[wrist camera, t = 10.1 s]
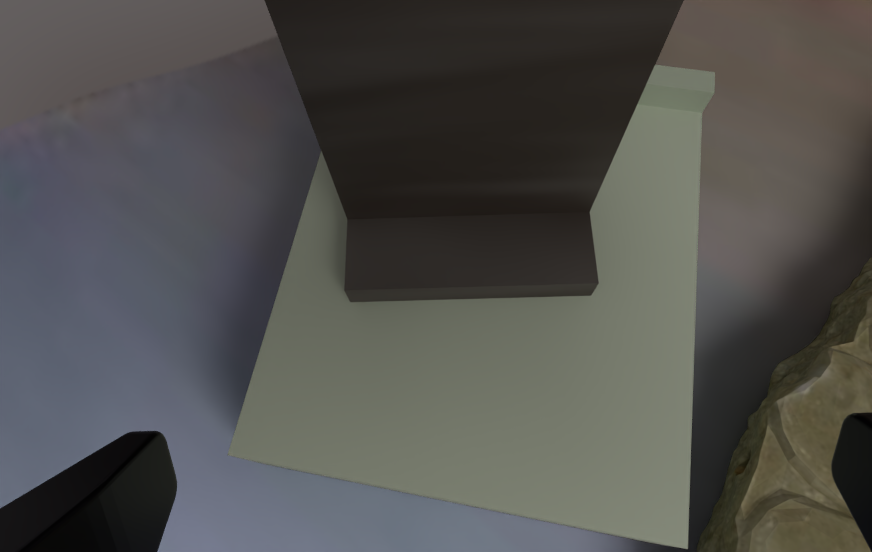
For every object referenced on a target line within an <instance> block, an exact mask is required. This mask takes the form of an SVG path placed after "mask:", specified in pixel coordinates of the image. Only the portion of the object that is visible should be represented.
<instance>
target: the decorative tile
mask: <svg viewBox="0 0 872 552" xmlns="http://www.w3.org/2000/svg"><path fill="white" fill-rule="evenodd" d="M867 412H872V257H871V258H870V259H869V260H868V262H867V263H866V264H865V265H864V266H863V268H862V271H861V273H860V275H859V276H858V277H856V278H855V279H854V280H853V281H852V284H851V286H850V287H849V288H848V289H847V290H845V291H844V292H843V293H842V294H840V295H838V296H836V297H834V299H833V301H832V303H831V308H830V315H829V317H828V319H827V321H826V323H825V325H824V326H823V328H822V330H821V332H820V334H819V335H818V336H817V337H816V338H815V340H814V341H813V342H812V343H811V344H810V345H808V346H807V347H805V348H804V349H802V350H801V351H800V352H799V353H797V354H794V355H792V356H790V357H789V358H787V359H785V360H784V361H782V362H780V363H779V364H778V365H777V367H776V368H775V370H774V371H773V373H772V376H771V379H770V385H769V390H768V394H767V398H765V399H764V400H763V402H762V403H761V405H760V407H759V409H758V410H757V411H756V412H755V413H753V414H751V415H750V416H749V417H748V428H747V430H746V431H745V433H744V434H743V436H742V437H741V439H740V440H739V444H738V447H737V448H736V449H735V450H734V453H733V456H732V459H731V462H730V464H729V467H728V472H727V476H726V481H725V484H724V488H723V492H722V495H721V496H720V499H719V500H718V502H717V503H716V505H715V506H714V508H713V513H712V517H711V519H710V521H709V523H708V525H707V526H706V528H705V529H704V531H703V532H702V534H701V536H700V539H699V542H698V545H697V552H871V550H870V548H869V546H868V545H867V543H866V541H865V539H864V537H863V535H862V533H861V531H860V530H859V528H858V526H857V524H856V522H855V520H854V518H853V516H852V515H851V513H850V511H849V509H848V507H847V505H846V503H845V501H844V500H843V498H842V496H841V494H840V492H839V490H838V488H837V486H836V484H835V482H834V480H833V476H832V471H831V462H832V458H833V455H834V451H835V447H836V444H837V440H838V437H839V433H840V430H841V426H842V423H843V421H844V419H845V418H846V417H847V416H848V415H850V414H852V413H867Z"/></svg>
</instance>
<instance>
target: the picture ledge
mask: <svg viewBox="0 0 872 552" xmlns="http://www.w3.org/2000/svg"><path fill="white" fill-rule="evenodd" d="M714 90H715V72H708V71H700V70H692V69H684V68H676V67H668V66H660V65H655V66H654V68H653V70H652V73H651V75H650V77H649V79H648V82H647V84H646V86H645V88H644V91H643V93H642V95H641V97H640V100H639V102H638V104H637V106H636V109H635V111H634V113H633V115H632V118H631V120H630V122H629V124H628V127H627V129H626V131H625V133H624V136H623V138H622V140H621V142H620V145H619V147H618V149H617V151H616V154H615V156H614V158H613V160H612V163H611V165H610V167H609V170H608V172H607V174H606V176H605V179H604V181H603V183H602V185H601V188H600V190H599V192H598V194H597V197H596V199H595V201H594V203H593V206H592V208H591V210H590V218H591V226H592V234H593V242H594V249H595V257H596V265H597V273H598V281H599V284H598V285H597V287H596V289H595V290H594V292H593V293H592V295H591V296H561V297H525V298H488V299H451V300H415V301H378V302H350V301H349V299H348V297H347V295H346V293H345V291H344V285H345V262H346V239H347V217H346V214H345V212H344V209H343V207H342V204H341V201H340V199H339V196H338V193H337V191H336V188H335V185H334V183H333V180H332V177H331V175H330V172H329V169H328V167H327V164H326V161H325V159H324V156H323V153H322V151H321V153H320V156H319V160H318V163H317V166H316V169H315V173H314V176H313V179H312V182H311V186H310V189H309V192H308V195H307V199H306V202H305V205H304V208H303V212H302V215H301V218H300V221H299V225H298V228H297V231H296V234H295V238H294V241H293V244H292V247H291V251H290V254H289V257H288V260H287V264H286V267H285V270H284V273H283V277H282V280H281V283H280V286H279V290H278V293H277V296H276V299H275V303H274V306H273V309H272V312H271V316H270V319H269V322H268V325H267V329H266V332H265V335H264V338H263V342H262V345H261V348H260V351H259V355H258V358H257V361H256V364H255V368H254V371H253V374H252V377H251V381H250V384H249V387H248V390H247V394H246V397H245V400H244V403H243V407H242V410H241V413H240V416H239V420H238V423H237V426H236V429H235V433H234V436H233V439H232V442H231V446H230V449H229V452H228V455H229V456H233V457H237V458H241V459H246V460H250V461H254V462H258V463H262V464H267V465H272V466H277V467H282V468H287V469H292V470H296V471H301V472H306V473H311V474H316V475H321V476H326V477H331V478H335V479H340V480H345V481H350V482H355V483H360V484H365V485H370V486H375V487H379V488H384V489H389V490H394V491H399V492H404V493H409V494H414V495H419V496H423V497H428V498H433V499H438V500H443V501H448V502H453V503H458V504H463V505H467V506H472V507H477V508H482V509H487V510H492V511H497V512H502V513H507V514H511V515H516V516H521V517H526V518H531V519H536V520H541V521H546V522H551V523H555V524H560V525H565V526H570V527H575V528H580V529H585V530H590V531H595V532H599V533H604V534H609V535H614V536H619V537H624V538H629V539H634V540H639V541H643V542H648V543H654V544H660V545H666V546H672V547H678V548H684V549H688V527H689V497H690V466H691V435H692V405H693V374H694V343H695V313H696V282H697V251H698V221H699V190H700V160H701V129H702V112H703V110H704V109H705V107H706V106H707V104H708V102H709V101H710V99H711V97H712V96H713V94H714Z"/></svg>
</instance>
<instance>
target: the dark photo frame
mask: <svg viewBox="0 0 872 552" xmlns="http://www.w3.org/2000/svg"><path fill="white" fill-rule="evenodd" d="M683 1H684V0H265V2H266V5H267V7H268V10H269V13H270V16H271V18H272V21H273V23H274V26H275V29H276V31H277V34H278V37H279V39H280V42H281V45H282V47H283V50H284V53H285V55H286V58H287V61H288V63H289V66H290V69H291V71H292V74H293V77H294V79H295V82H296V85H297V87H298V90H299V92H300V95H301V98H302V100H303V103H304V106H305V108H306V111H307V114H308V116H309V119H310V122H311V124H312V127H313V130H314V132H315V135H316V138H317V140H318V143H319V146H320V148H321V151H322V153H323V156H324V159H325V161H326V164H327V167H328V169H329V172H330V175H331V177H332V180H333V183H334V185H335V188H336V191H337V193H338V196H339V199H340V201H341V204H342V207H343V209H344V212H345V214H346V217H347V239H346V262H345V285H344V291H345V293H346V295H347V297H348V299H349V301H350V302H378V301H415V300H451V299H488V298H525V297H561V296H591V295H592V293H593V292H594V290H595V289H596V287H597V285H598V284H599V281H598V273H597V265H596V257H595V249H594V242H593V234H592V226H591V218H590V210H591V208H592V206H593V203H594V201H595V199H596V197H597V194H598V192H599V190H600V188H601V185H602V183H603V181H604V179H605V176H606V174H607V172H608V170H609V167H610V165H611V163H612V160H613V158H614V156H615V154H616V151H617V149H618V147H619V145H620V142H621V140H622V138H623V136H624V133H625V131H626V129H627V127H628V124H629V122H630V120H631V118H632V115H633V113H634V111H635V109H636V106H637V104H638V102H639V100H640V97H641V95H642V93H643V91H644V88H645V86H646V84H647V82H648V79H649V77H650V75H651V73H652V70H653V68H654V66H655V64H656V61H657V59H658V57H659V55H660V52H661V50H662V48H663V46H664V43H665V41H666V39H667V37H668V34H669V32H670V30H671V28H672V25H673V23H674V21H675V19H676V16H677V14H678V12H679V10H680V7H681V5H682V3H683Z"/></svg>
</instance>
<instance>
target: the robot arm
mask: <svg viewBox="0 0 872 552" xmlns="http://www.w3.org/2000/svg"><path fill="white" fill-rule="evenodd" d="M831 471H832V476H833V480H834V482H835V484H836V486H837V488H838V490H839V492H840V494H841V496H842V498H843V500H844V501H845V503H846V505H847V507H848V509H849V511H850V513H851V515H852V516H853V518H854V520H855V522H856V524H857V526H858V528H859V530H860V531H861V533H862V535H863V537H864V539H865V541H866V543H867V545H868V546H869V548H870V550H871V552H872V412H867V413H852V414H850V415H848V416H847V417H846V418H845V419H844V421H843V423H842V426H841V430H840V433H839V437H838V440H837V444H836V447H835V451H834V455H833V458H832V462H831ZM176 491H177V480H176V475H175V471H174V467H173V464H172V460H171V456H170V453H169V449H168V445H167V442H166V439H165V437H164V435H163V434H162V433H160V432H158V431H136V432H129V433H127V434H125V435H123V436H121V437H120V438H118V439H116V440H115V441H113V442H111V443H110V444H108V445H106V446H104V447H103V448H101V449H99V450H98V451H96V452H94V453H93V454H91V455H89V456H88V457H86V458H84V459H83V460H81V461H79V462H78V463H76V464H74V465H73V466H71V467H69V468H68V469H66V470H64V471H62V472H61V473H59V474H57V475H56V476H54V477H52V478H51V479H49V480H47V481H46V482H44V483H42V484H41V485H39V486H37V487H36V488H34V489H32V490H31V491H29V492H27V493H26V494H24V495H22V496H21V497H19V498H17V499H15V500H14V501H12V502H10V503H9V504H7V505H5V506H4V507H2V508H0V552H157V551H158V548H159V545H160V542H161V539H162V536H163V533H164V530H165V527H166V524H167V521H168V518H169V515H170V512H171V509H172V506H173V503H174V500H175V496H176Z"/></svg>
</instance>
